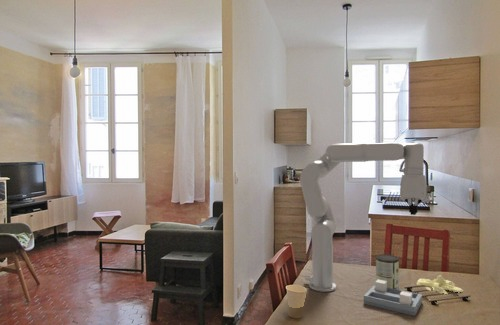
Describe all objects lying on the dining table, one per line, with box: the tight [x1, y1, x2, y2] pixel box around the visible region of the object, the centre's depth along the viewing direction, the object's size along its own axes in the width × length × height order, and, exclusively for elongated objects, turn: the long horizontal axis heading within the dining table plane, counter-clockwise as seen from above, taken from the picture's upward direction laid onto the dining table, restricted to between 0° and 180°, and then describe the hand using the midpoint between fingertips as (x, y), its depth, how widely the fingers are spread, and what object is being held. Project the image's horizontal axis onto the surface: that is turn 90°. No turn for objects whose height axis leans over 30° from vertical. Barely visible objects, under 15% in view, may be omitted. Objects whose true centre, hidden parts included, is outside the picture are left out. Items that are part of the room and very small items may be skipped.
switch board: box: [363, 284, 423, 317], centre depth 152 cm, size 20×15×4 cm
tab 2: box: [399, 290, 413, 306], centre depth 145 cm, size 4×4×5 cm
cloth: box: [416, 274, 464, 295], centre depth 170 cm, size 22×19×6 cm
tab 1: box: [374, 279, 387, 292], centre depth 159 cm, size 4×4×5 cm
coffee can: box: [375, 254, 400, 290], centre depth 171 cm, size 10×10×14 cm
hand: (413, 214), depth 155 cm, fingers closed
